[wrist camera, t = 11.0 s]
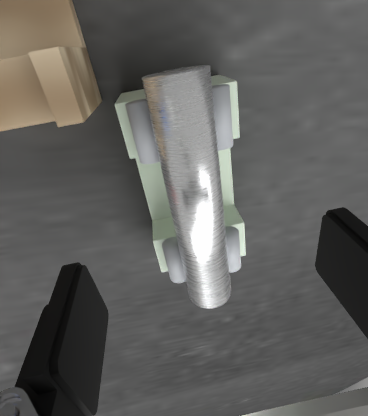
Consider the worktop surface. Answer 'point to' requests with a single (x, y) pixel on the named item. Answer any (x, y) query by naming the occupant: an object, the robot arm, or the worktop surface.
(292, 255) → the worktop surface
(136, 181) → the worktop surface
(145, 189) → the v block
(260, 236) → the worktop surface
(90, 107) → the wooden cradle stand
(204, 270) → the axle
